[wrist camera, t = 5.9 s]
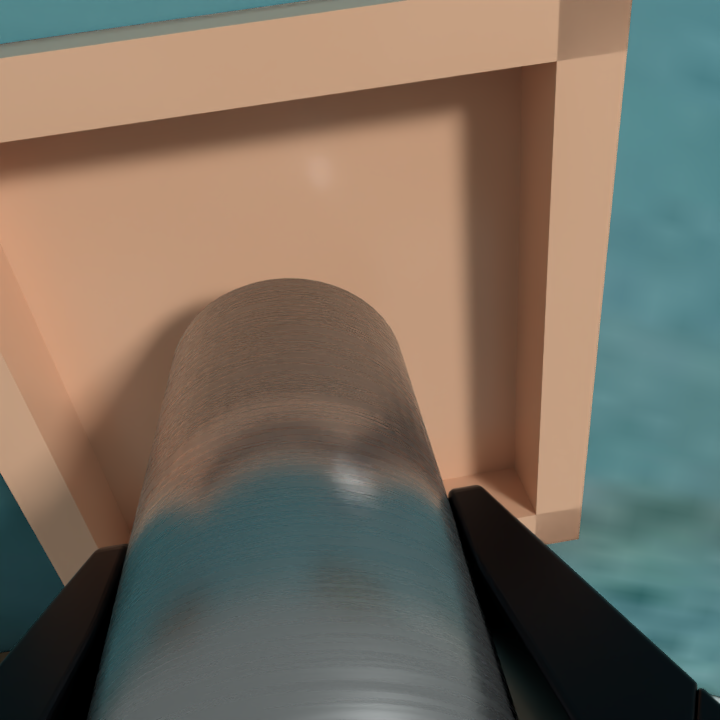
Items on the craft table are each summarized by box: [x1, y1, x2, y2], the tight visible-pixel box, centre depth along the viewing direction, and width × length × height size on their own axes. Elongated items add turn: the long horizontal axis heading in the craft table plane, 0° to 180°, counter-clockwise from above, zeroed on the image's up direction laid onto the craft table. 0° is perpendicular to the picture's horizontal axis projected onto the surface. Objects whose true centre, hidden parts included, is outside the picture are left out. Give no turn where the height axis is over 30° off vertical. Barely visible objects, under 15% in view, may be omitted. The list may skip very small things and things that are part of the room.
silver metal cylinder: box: [87, 278, 519, 720], centre depth 7 cm, size 4×4×10 cm
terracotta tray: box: [0, 0, 632, 586], centre depth 12 cm, size 11×11×2 cm
